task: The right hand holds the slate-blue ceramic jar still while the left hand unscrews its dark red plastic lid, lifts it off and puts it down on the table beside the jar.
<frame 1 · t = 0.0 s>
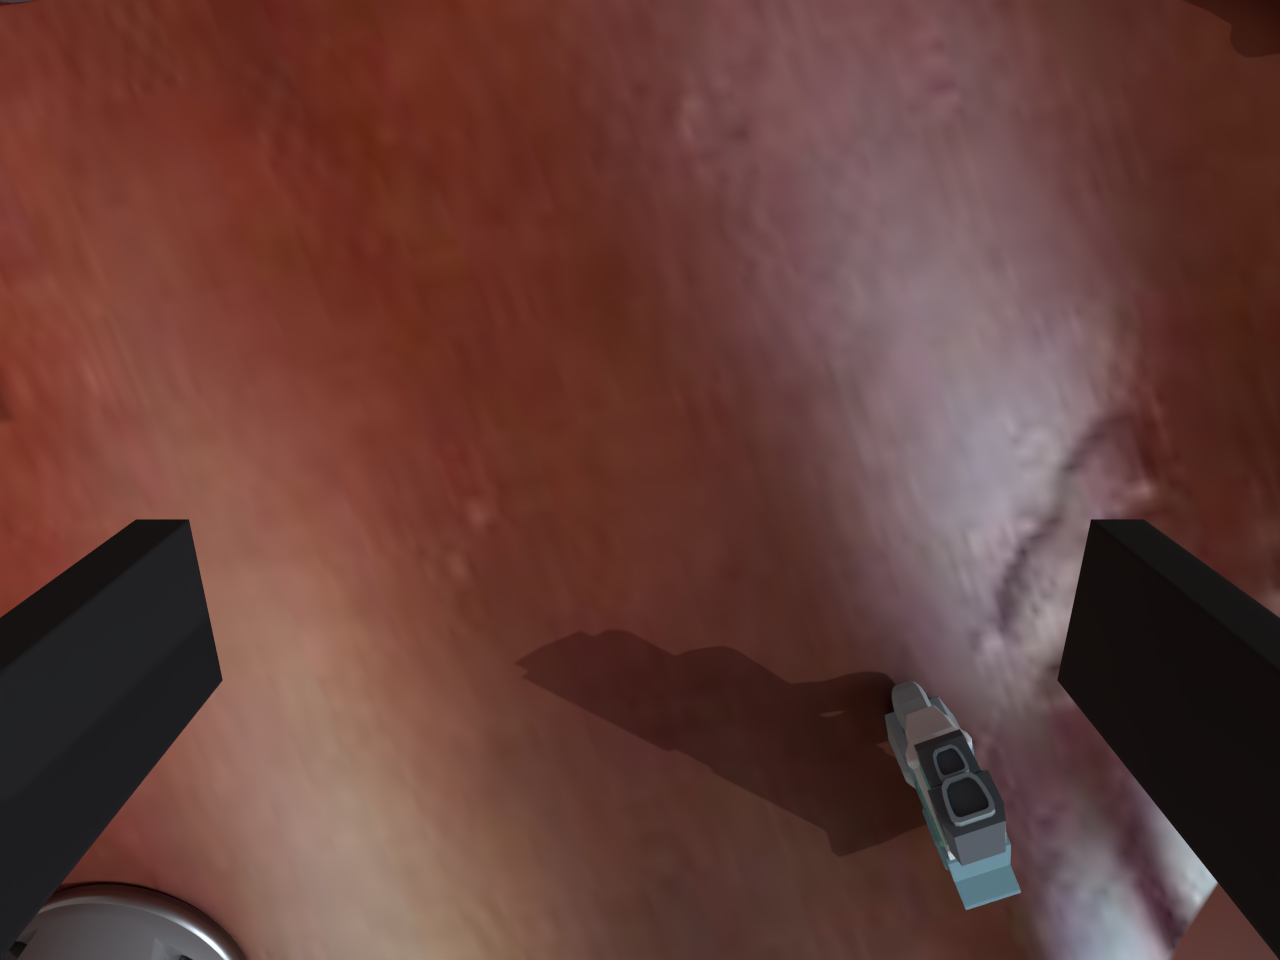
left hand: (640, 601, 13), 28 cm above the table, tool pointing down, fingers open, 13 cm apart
toy gun: (919, 728, 47), on the table
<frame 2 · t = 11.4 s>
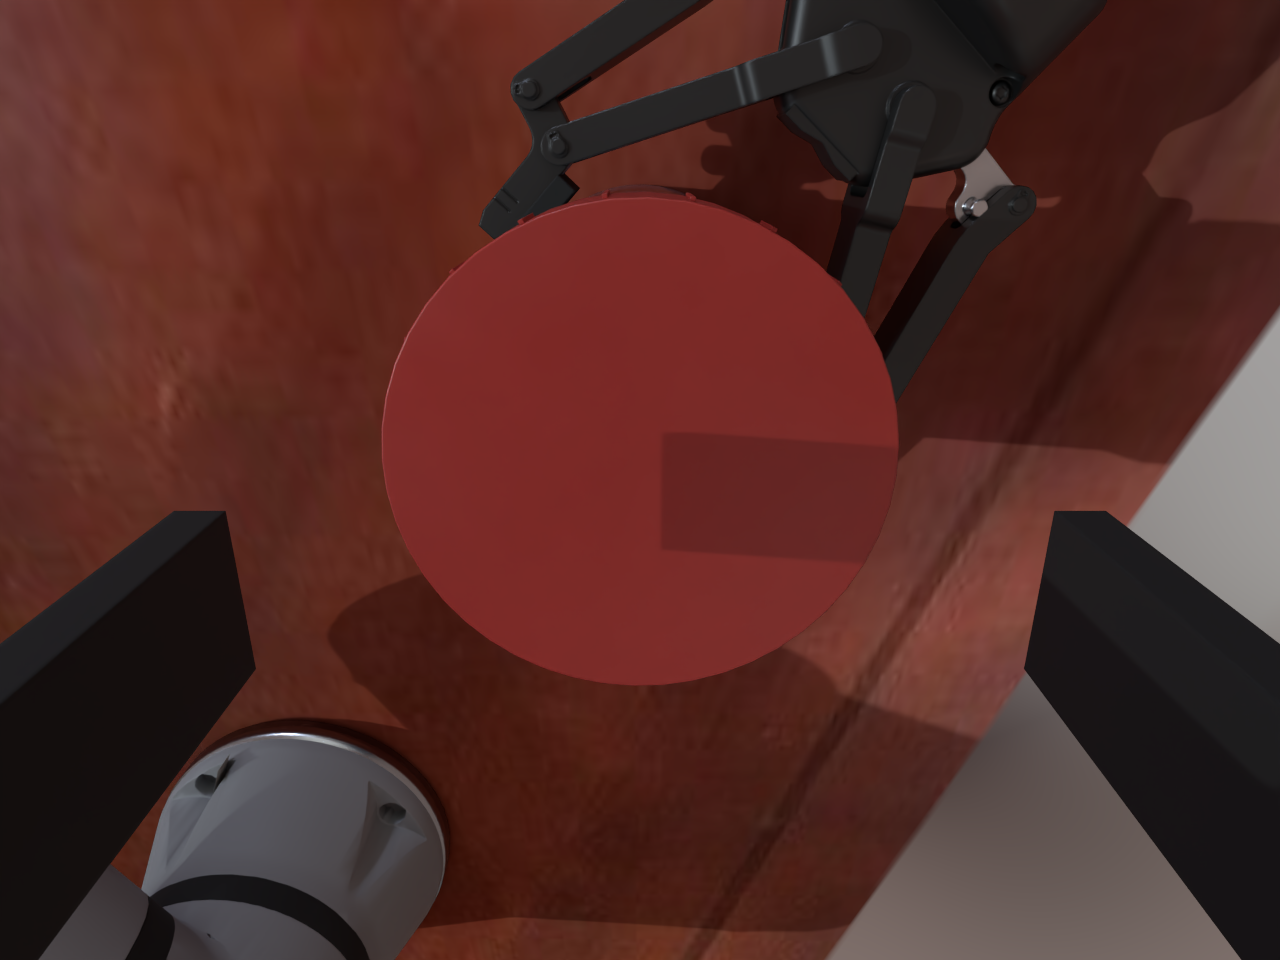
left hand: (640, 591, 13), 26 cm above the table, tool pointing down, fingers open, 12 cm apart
right hand: (564, 416, 32), fingers closed on jar, 10 cm apart
lid: (640, 462, 18), point 20 cm above the table, screwed on, not yet turned
jar: (640, 306, 37), on the table, touching right hand
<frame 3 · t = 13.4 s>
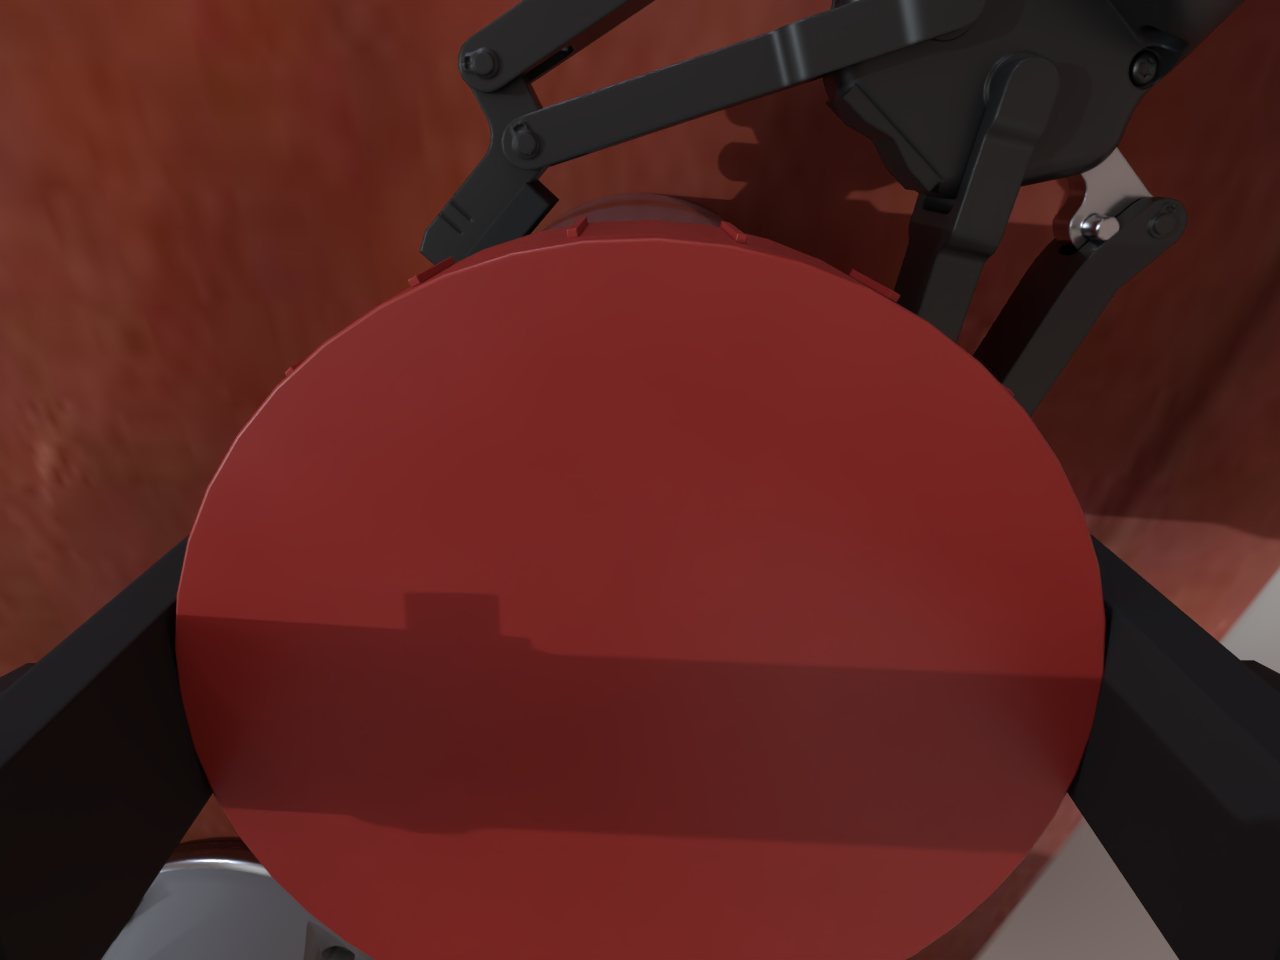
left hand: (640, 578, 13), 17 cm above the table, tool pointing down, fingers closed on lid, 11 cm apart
right hand: (540, 499, 24), fingers closed on jar, 10 cm apart
lid: (640, 694, 10), point 20 cm above the table, screwed on, not yet turned, touching left hand
jar: (639, 347, 29), on the table, touching right hand
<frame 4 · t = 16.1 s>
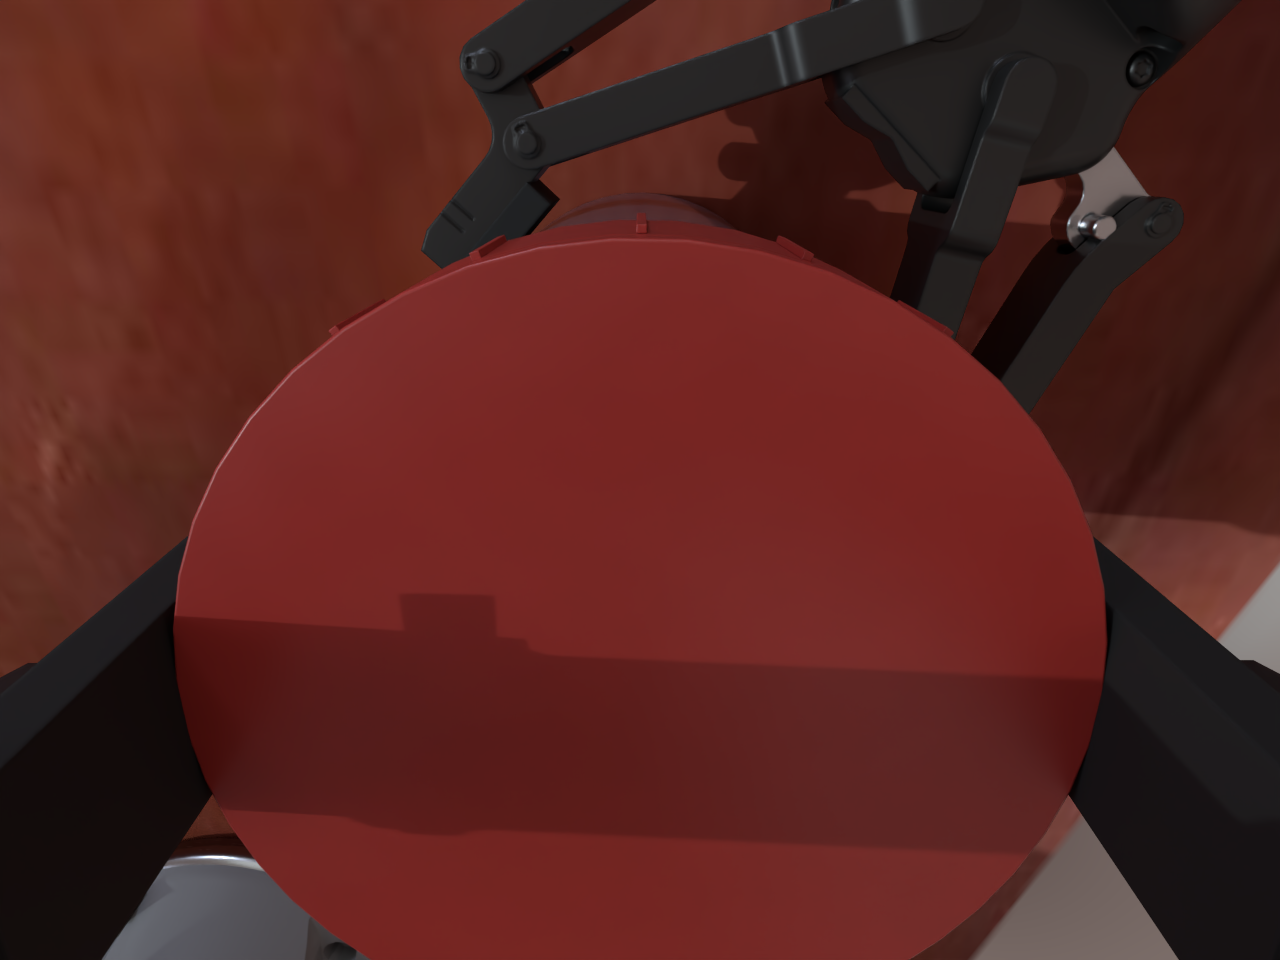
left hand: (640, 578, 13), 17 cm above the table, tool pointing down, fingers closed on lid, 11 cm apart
right hand: (541, 497, 25), fingers closed on jar, 10 cm apart
lid: (640, 696, 10), point 20 cm above the table, turned 65° so far, risen 0.2 cm, still on its thread, touching left hand
jar: (640, 346, 29), on the table, touching right hand
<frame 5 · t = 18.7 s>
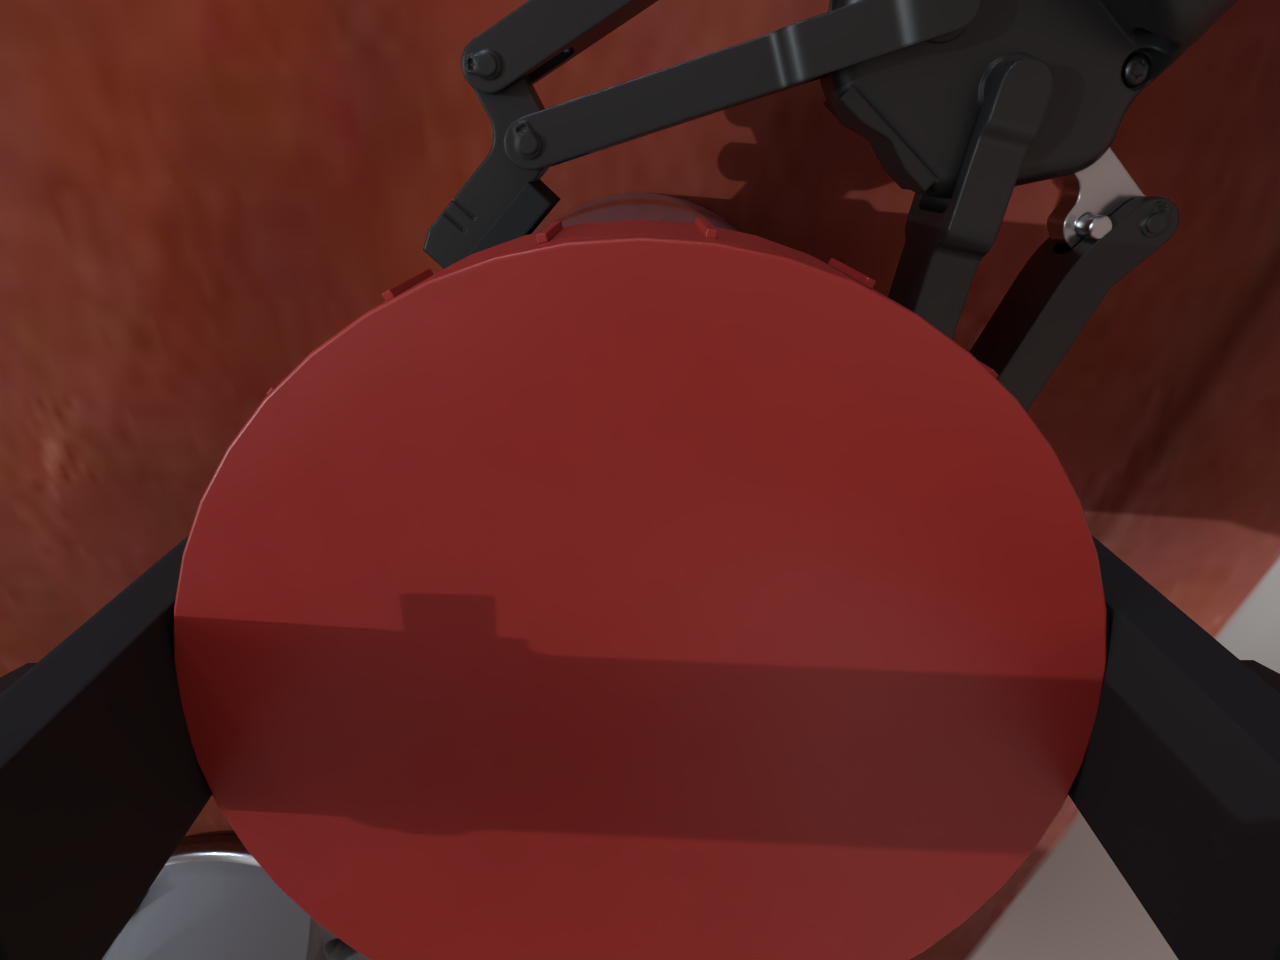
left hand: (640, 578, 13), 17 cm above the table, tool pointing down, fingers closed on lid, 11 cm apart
right hand: (542, 495, 25), fingers closed on jar, 10 cm apart
lid: (640, 696, 10), point 20 cm above the table, turned 129° so far, risen 0.4 cm, still on its thread, touching left hand
jar: (640, 345, 29), on the table, touching right hand
when the left hand's fingers open (0 cm above the table, at t = 26.2 s): lid stays where it is, point 2 cm above the table.
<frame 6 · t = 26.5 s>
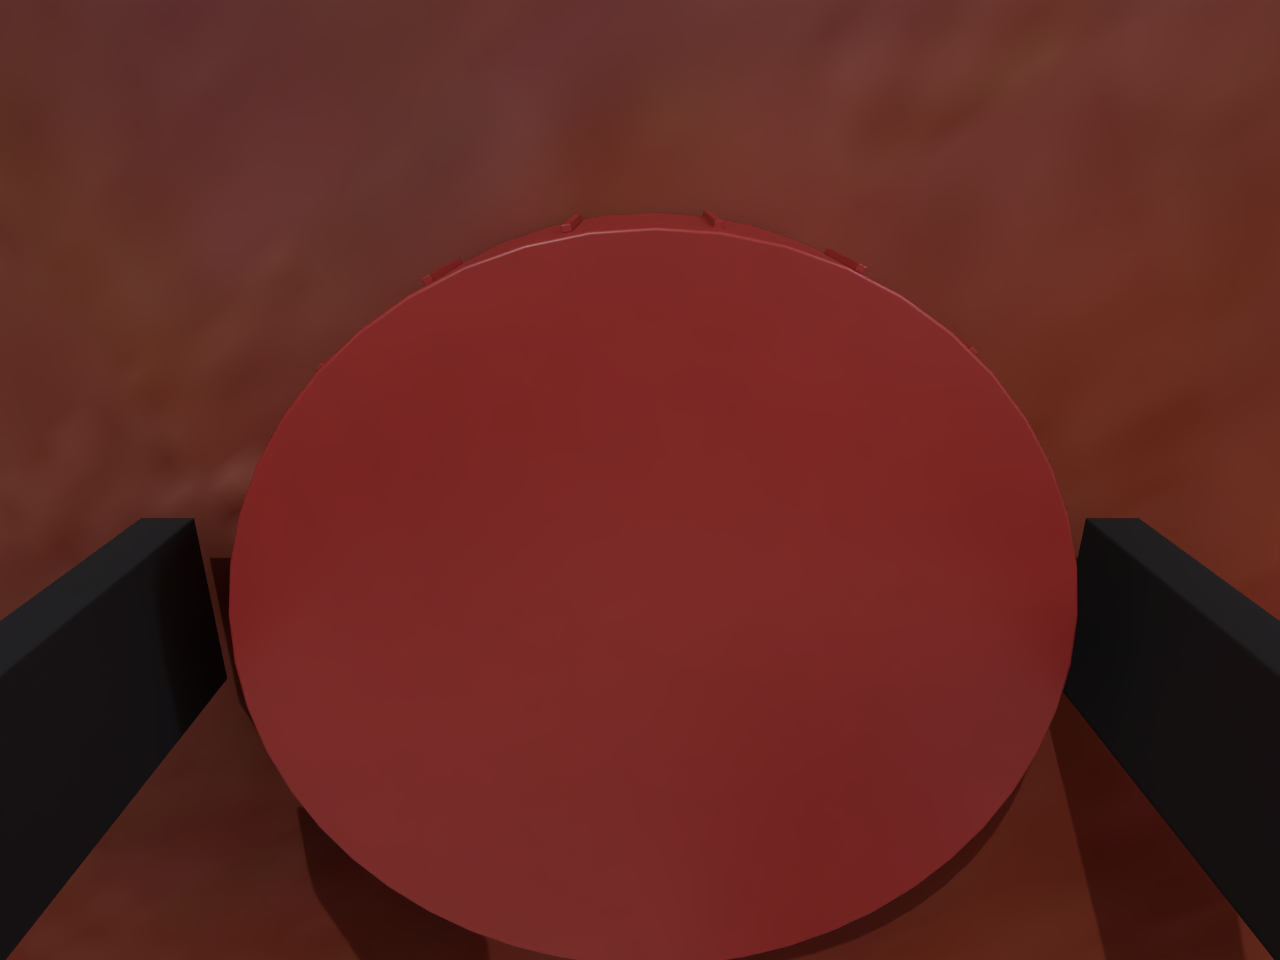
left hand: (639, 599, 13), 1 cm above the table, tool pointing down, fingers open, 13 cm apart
lid: (652, 648, 11), point 2 cm above the table, off its thread
when the right hand's fingers open (6 cm above the table, at t = 27.3 s): jar stays where it is, on the table.
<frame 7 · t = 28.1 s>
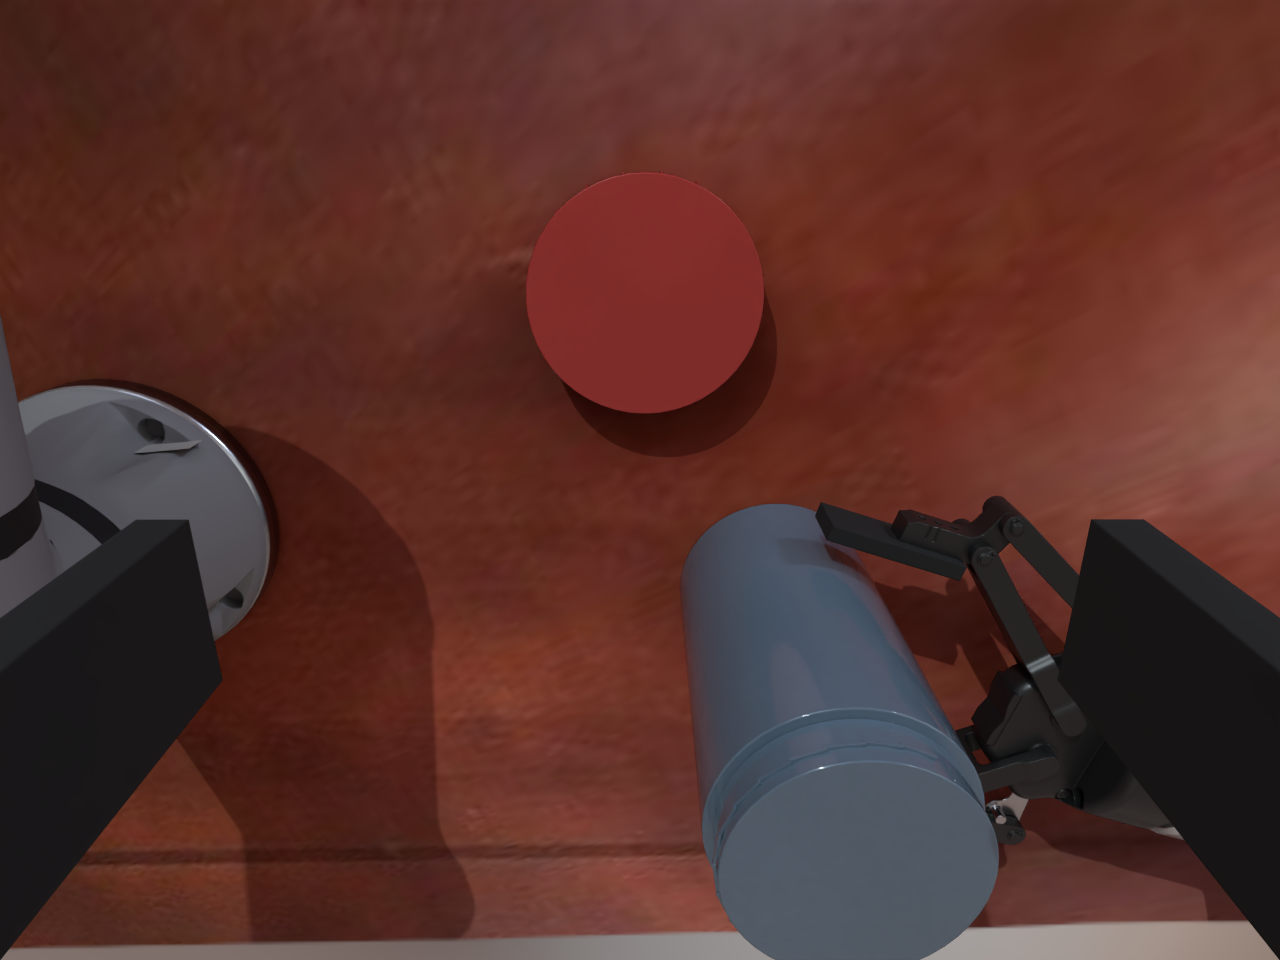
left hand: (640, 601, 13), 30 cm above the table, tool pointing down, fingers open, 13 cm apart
right hand: (768, 642, 41), fingers open, 13 cm apart
lid: (644, 298, 39), point 2 cm above the table, off its thread
jar: (771, 587, 47), on the table
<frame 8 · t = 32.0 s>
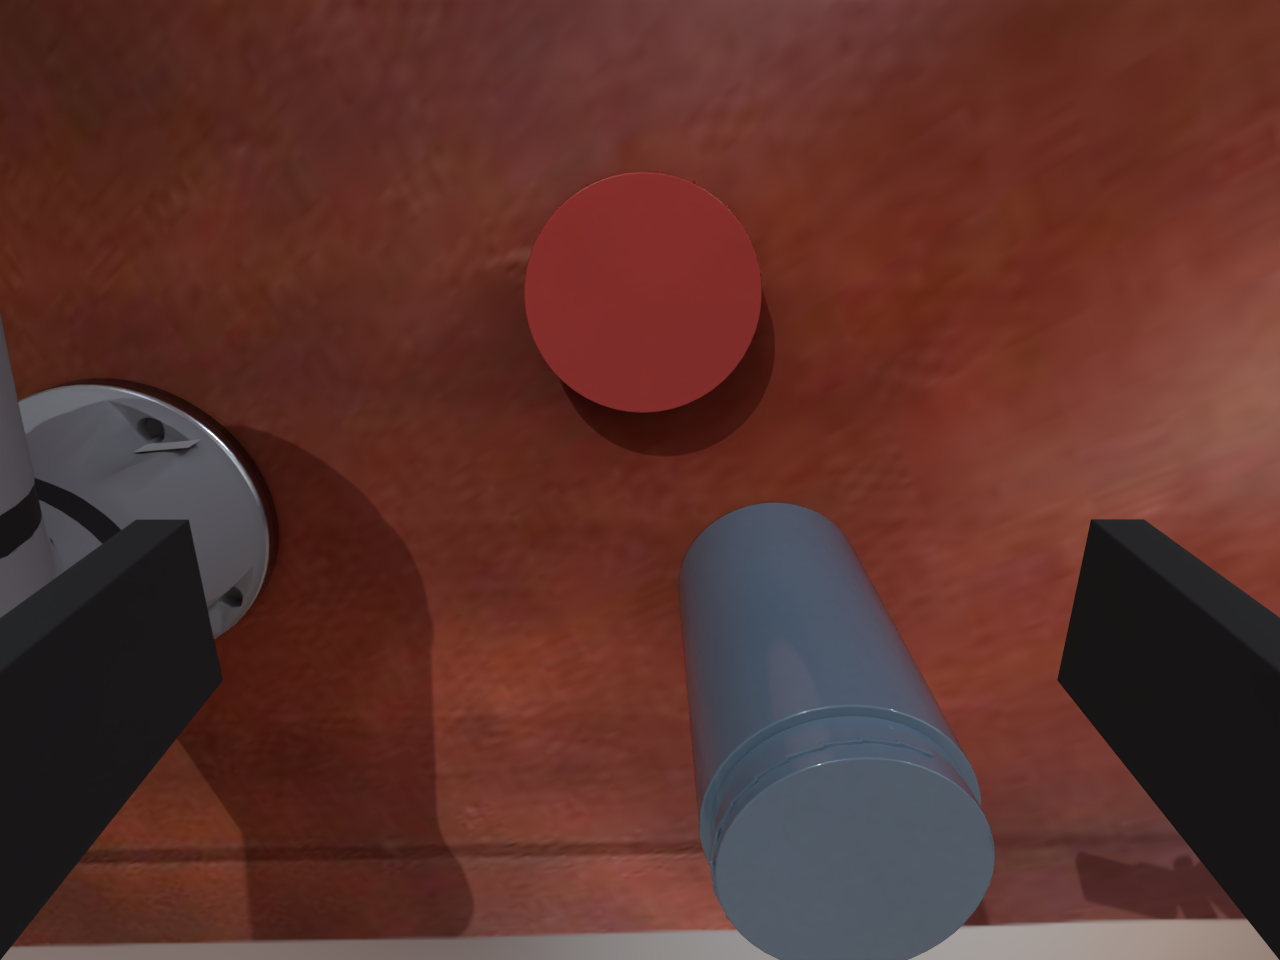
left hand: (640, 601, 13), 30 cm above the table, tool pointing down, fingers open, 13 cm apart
lid: (642, 297, 39), point 2 cm above the table, off its thread
jar: (768, 586, 47), on the table
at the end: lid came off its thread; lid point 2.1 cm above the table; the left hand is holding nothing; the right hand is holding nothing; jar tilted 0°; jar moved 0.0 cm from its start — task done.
